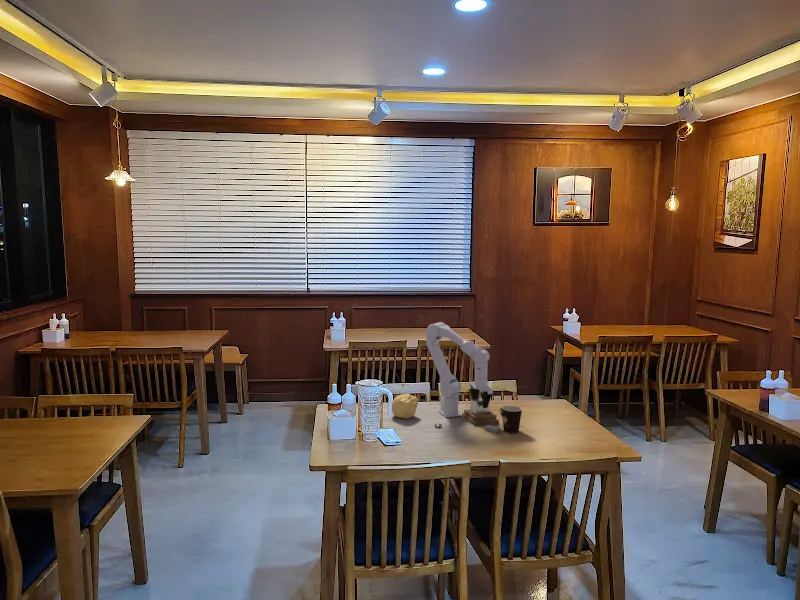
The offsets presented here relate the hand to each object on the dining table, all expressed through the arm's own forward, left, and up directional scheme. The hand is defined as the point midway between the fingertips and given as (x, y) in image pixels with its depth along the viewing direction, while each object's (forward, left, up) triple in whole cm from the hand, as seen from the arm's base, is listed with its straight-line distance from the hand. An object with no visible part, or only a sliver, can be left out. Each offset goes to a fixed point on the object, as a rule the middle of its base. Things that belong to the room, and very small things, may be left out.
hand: (480, 405), depth 256 cm
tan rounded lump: (-14, -32, -7) cm, 36 cm away
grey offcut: (+15, -1, -7) cm, 17 cm away
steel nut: (+4, -22, -7) cm, 23 cm away
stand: (0, 0, -7) cm, 7 cm away
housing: (0, 0, -3) cm, 3 cm away
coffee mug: (+16, +7, -7) cm, 19 cm away
